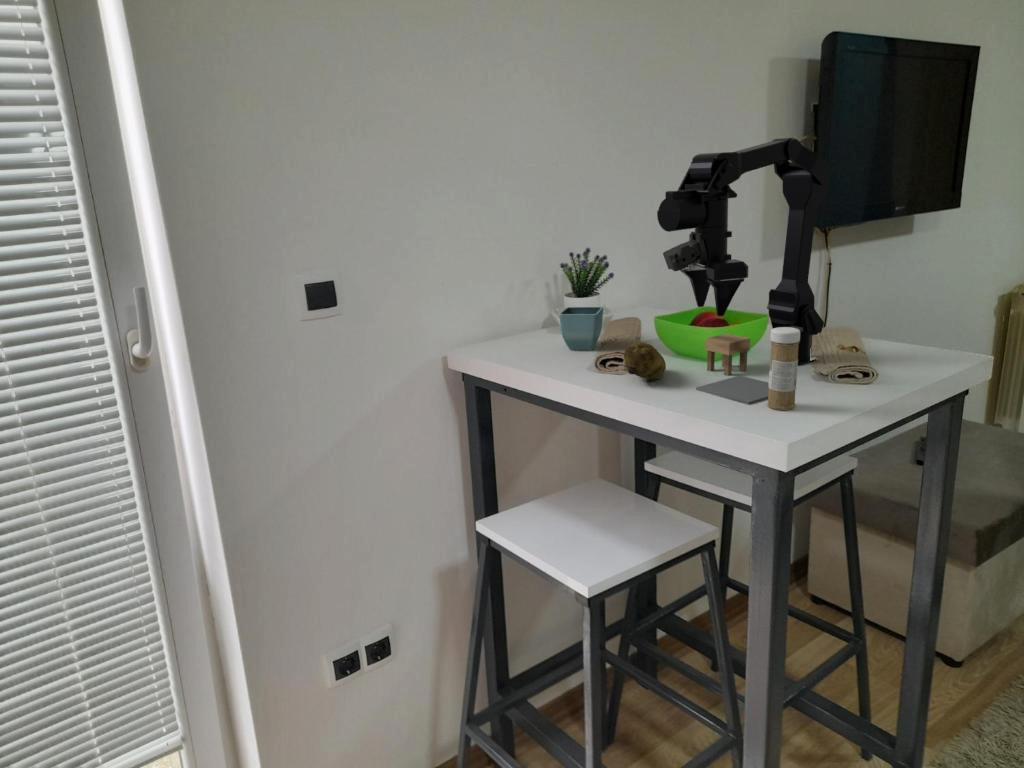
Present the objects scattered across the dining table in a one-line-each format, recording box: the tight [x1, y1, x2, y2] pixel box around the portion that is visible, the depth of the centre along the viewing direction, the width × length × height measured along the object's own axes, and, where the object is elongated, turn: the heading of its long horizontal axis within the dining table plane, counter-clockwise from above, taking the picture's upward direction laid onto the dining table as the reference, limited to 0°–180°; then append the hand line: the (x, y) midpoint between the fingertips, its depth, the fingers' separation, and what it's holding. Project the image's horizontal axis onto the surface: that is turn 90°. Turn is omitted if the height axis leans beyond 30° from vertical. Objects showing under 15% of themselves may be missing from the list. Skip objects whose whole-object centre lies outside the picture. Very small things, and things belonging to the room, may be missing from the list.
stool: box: [704, 333, 751, 376], centre depth 147 cm, size 6×6×7 cm
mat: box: [695, 375, 769, 405], centre depth 135 cm, size 12×12×1 cm
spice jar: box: [766, 327, 800, 411], centre depth 123 cm, size 5×5×13 cm
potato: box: [623, 341, 667, 381], centre depth 143 cm, size 8×13×8 cm, turn 137°
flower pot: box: [558, 306, 604, 351], centre depth 170 cm, size 9×9×9 cm
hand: (710, 311), depth 137 cm, fingers open, 9 cm apart
